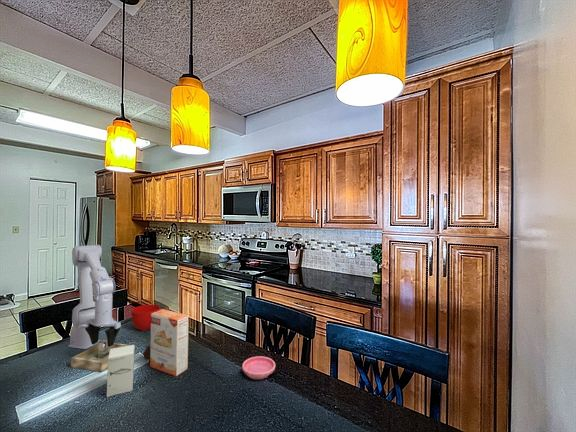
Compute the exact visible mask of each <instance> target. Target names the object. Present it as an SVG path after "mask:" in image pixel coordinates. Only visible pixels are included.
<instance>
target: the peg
mask: <svg viewBox="0 0 576 432" xmlns="http://www.w3.org/2000/svg"><path fill="white" fill-rule="evenodd" d="M99 340H100V341H99V342H98V343H97V345H98V358H101V359H103V358H104V357H106V356H108V345H107V338H106V339H99Z"/></svg>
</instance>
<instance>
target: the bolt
mask: <svg viewBox="0 0 576 432" xmlns="http://www.w3.org/2000/svg"><path fill="white" fill-rule="evenodd" d="M150 349H151V345H149V346H147V347H146V348H145V350H144V352H143V353H142V356H143V357H144V360H145V361H150Z"/></svg>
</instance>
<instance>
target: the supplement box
mask: <svg viewBox="0 0 576 432" xmlns="http://www.w3.org/2000/svg"><path fill="white" fill-rule="evenodd" d="M128 345H129V346H124V347H118V348H112V349H110V352H109V357H108V369H107V372H106V373H107V379H106V398H108V397H113V396H115V395H121V394H124V393H129V392H132V391H133V386H134V385H133V384H134V368H135V344H128Z"/></svg>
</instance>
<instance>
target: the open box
mask: <svg viewBox="0 0 576 432" xmlns="http://www.w3.org/2000/svg"><path fill="white" fill-rule="evenodd" d="M129 345H130V344H124V343H118V342H114V345H112V346H110V347H108V356H106V357H104V358H103V359H101V358H98V344H95V345H93V346H91V347H89V348H87V349H85V350H84V351H82V352H80V353H78V354H77V355H74V356H72V357H71V358H70V368H72V369H77V370H78V369H80V370H84V369H85V370H84V371H90V370H91V372H96V371H97V372H98V373H104V372H105V371H106V370H108V357H109V352H110V349H112V348H118V347H124V346H129Z"/></svg>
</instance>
